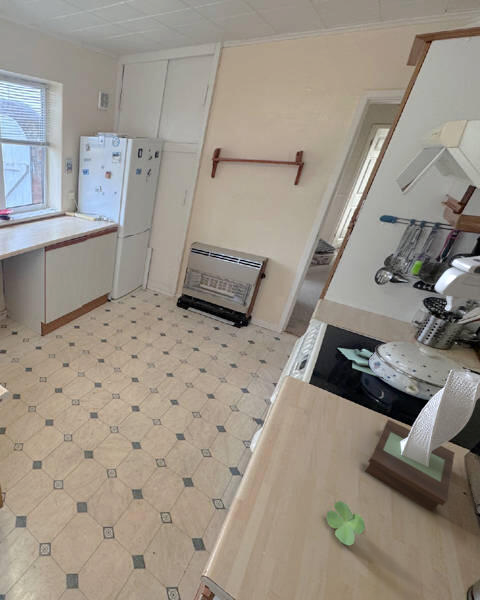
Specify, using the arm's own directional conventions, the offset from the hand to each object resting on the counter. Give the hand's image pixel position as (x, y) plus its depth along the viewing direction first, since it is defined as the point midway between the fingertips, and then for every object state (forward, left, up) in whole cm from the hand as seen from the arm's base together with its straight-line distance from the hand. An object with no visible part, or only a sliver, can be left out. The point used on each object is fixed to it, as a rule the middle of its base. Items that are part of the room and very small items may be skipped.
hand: (469, 314), depth 90 cm
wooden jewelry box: (+12, +26, -37) cm, 47 cm away
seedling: (+35, +51, -37) cm, 72 cm away
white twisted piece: (+12, +26, -32) cm, 43 cm away
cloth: (-3, -29, -37) cm, 47 cm away
